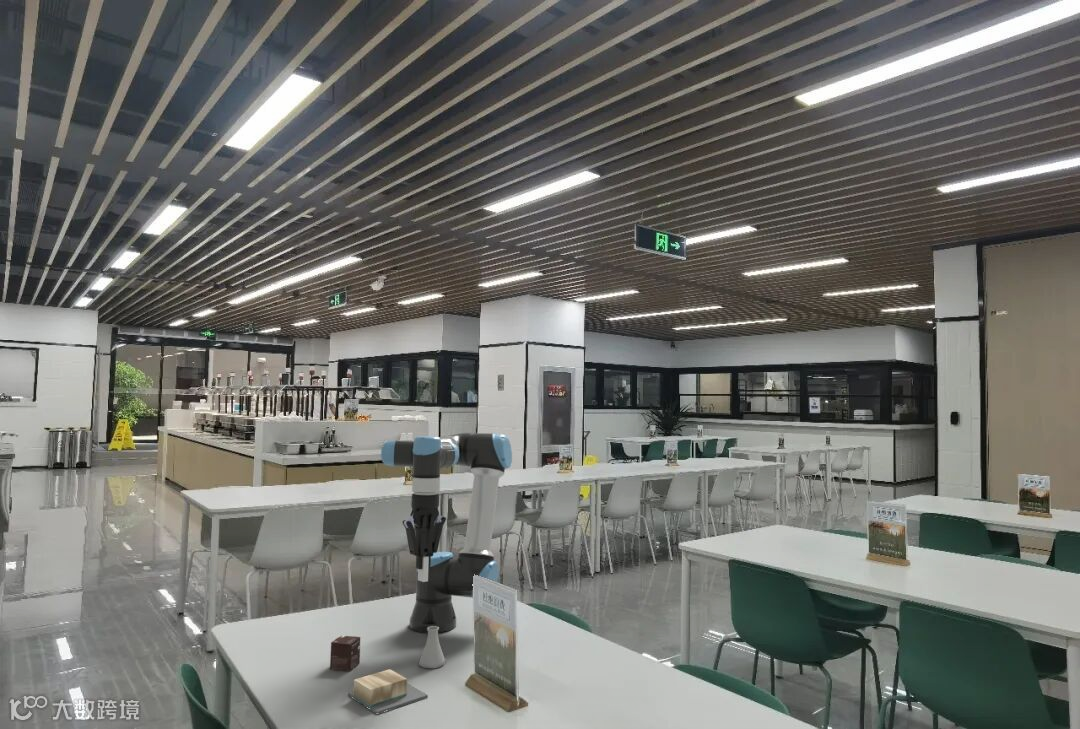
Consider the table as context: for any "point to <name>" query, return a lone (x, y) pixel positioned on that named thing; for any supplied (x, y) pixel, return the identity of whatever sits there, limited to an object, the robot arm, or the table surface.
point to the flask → (432, 650)
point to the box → (345, 653)
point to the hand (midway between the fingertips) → (422, 580)
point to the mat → (397, 700)
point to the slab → (380, 687)
